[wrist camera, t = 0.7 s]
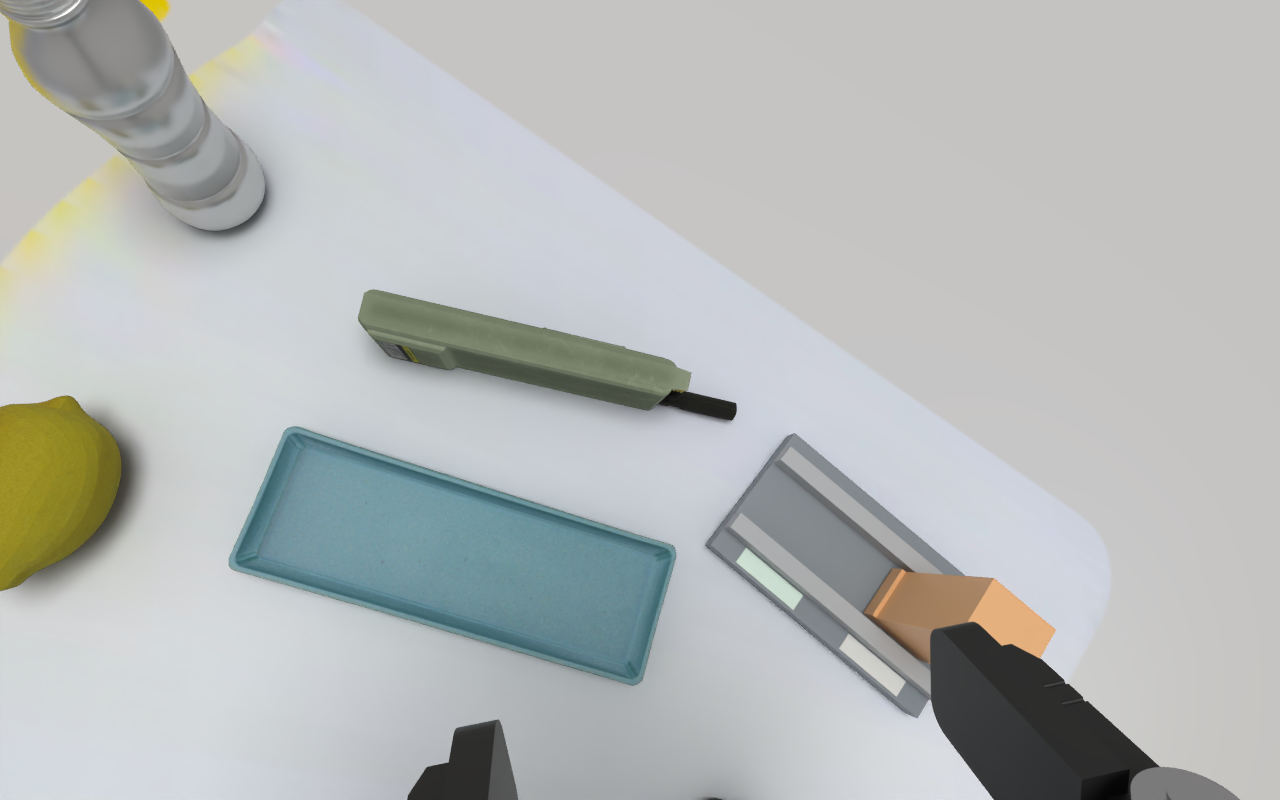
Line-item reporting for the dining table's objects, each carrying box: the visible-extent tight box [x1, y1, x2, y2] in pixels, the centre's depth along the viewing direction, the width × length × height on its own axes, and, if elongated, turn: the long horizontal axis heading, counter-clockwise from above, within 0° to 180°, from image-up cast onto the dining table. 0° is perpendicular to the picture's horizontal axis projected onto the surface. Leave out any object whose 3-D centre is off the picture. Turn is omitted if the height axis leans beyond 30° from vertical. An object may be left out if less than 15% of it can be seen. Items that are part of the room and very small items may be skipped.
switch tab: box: [864, 568, 1056, 664], centre depth 42 cm, size 5×4×10 cm
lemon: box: [0, 396, 122, 591], centre depth 38 cm, size 11×8×8 cm
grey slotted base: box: [706, 433, 965, 718], centre depth 47 cm, size 18×10×3 cm, turn 51°
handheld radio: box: [358, 290, 737, 421], centre depth 45 cm, size 7×3×25 cm
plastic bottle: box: [0, 0, 265, 231], centre depth 37 cm, size 6×7×20 cm
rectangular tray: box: [229, 427, 676, 685], centre depth 44 cm, size 26×9×2 cm, turn 73°
